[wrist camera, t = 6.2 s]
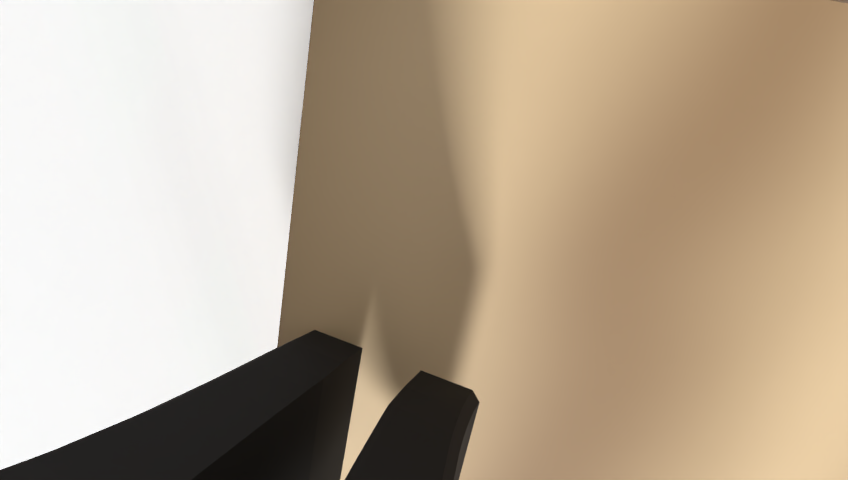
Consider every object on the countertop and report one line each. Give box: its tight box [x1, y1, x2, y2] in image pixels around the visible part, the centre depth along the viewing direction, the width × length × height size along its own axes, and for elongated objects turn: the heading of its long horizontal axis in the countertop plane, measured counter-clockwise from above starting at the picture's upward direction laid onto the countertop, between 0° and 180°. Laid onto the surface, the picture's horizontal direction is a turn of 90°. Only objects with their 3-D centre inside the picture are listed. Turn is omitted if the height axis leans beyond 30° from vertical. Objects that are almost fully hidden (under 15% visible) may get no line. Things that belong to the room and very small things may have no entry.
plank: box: [277, 0, 848, 480], centre depth 11 cm, size 9×11×2 cm
